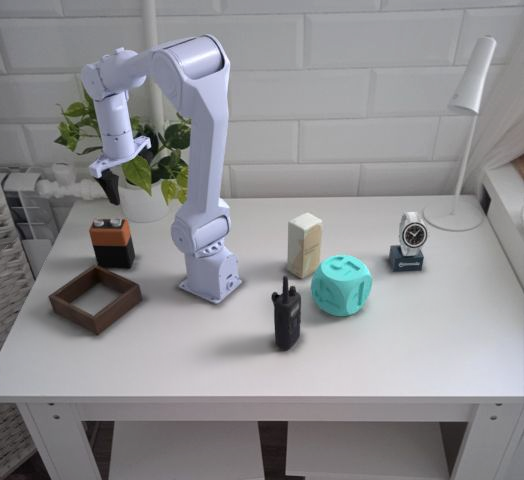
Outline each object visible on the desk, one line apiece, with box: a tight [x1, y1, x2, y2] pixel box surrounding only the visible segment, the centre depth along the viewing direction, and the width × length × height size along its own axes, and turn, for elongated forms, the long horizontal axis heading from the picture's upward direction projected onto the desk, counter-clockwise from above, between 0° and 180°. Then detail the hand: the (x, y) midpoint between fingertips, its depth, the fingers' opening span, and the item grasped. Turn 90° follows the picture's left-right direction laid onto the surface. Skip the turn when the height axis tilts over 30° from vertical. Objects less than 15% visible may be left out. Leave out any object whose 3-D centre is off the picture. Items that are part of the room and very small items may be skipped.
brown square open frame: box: [47, 263, 144, 336], centre depth 114 cm, size 12×12×4 cm
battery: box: [88, 217, 136, 270], centre depth 121 cm, size 4×7×10 cm, turn 86°
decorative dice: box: [310, 254, 373, 317], centre depth 111 cm, size 8×8×8 cm
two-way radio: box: [270, 275, 302, 351], centre depth 102 cm, size 6×4×15 cm
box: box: [286, 211, 323, 279], centre depth 118 cm, size 5×4×11 cm
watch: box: [388, 211, 430, 273], centre depth 118 cm, size 6×8×11 cm
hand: (128, 194), depth 124 cm, fingers open, 7 cm apart
